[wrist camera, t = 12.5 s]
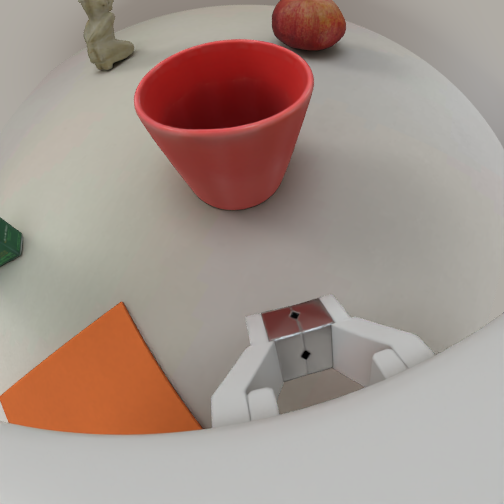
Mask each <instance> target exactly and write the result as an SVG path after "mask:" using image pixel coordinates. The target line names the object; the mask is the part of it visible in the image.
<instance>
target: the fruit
mask: <svg viewBox="0 0 504 504" xmlns="http://www.w3.org/2000/svg"><path fill="white" fill-rule="evenodd" d="M272 29H273V32H274V35H275V36H276V37H277V38H278V39H279V40H280V41H282V42H283V43H284V44H286V45H288V46H290V47H293V48H298V49H304V50H322V49H326V48H329V47H331V46H333V45H334V44H335V43H337V42H338V41H339V40H340V39H341V38H342V37H343V36H344V34H345V31H346V22H345V19H344V17H343V15H342V13H341V11H340V9H339V8H338V6H337V5H336V4H335V3H334V2H333V1H332V0H280V2H279V3H278V4H277V5H276V7H275V9H274V11H273V14H272Z"/></svg>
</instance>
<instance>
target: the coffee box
mask: <svg viewBox="0 0 504 504" xmlns="http://www.w3.org/2000/svg"><path fill="white" fill-rule="evenodd" d="M22 242H23V237H22V233H21V232H19V231H18V230H16V229H15V228H14V227H12V226H11V225H10V224H8V223H7V222H6V221H4V220H3V219H2V218H1V217H0V266H2V265H4V264H5V263H7V262H10V261H11V260H13V259H14V258H16V257H18V256H20V255H21V253H22Z"/></svg>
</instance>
